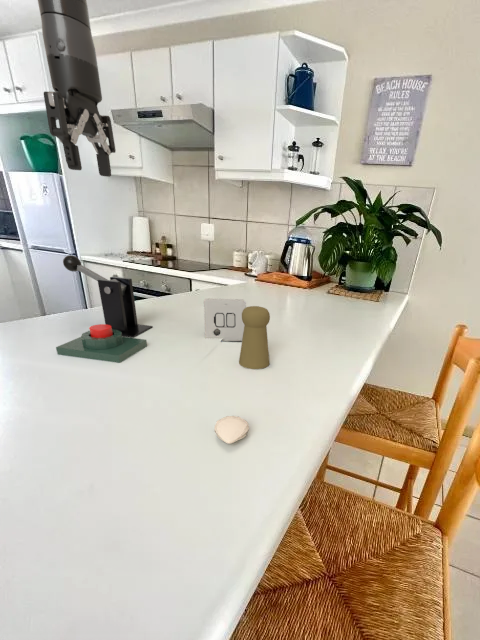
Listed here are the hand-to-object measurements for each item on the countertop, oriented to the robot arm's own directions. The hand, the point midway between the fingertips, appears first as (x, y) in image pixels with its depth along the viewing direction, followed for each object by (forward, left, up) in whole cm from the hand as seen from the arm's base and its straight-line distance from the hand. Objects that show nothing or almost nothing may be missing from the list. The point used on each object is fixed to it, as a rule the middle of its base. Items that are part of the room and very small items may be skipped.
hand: (91, 173), depth 62 cm
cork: (+36, -11, -31) cm, 49 cm away
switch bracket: (+4, -4, -31) cm, 31 cm away
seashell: (+39, -36, -31) cm, 61 cm away
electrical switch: (+26, +1, -31) cm, 40 cm away
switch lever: (-1, -4, -20) cm, 21 cm away
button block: (+8, -16, -31) cm, 35 cm away
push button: (+8, -16, -27) cm, 32 cm away
